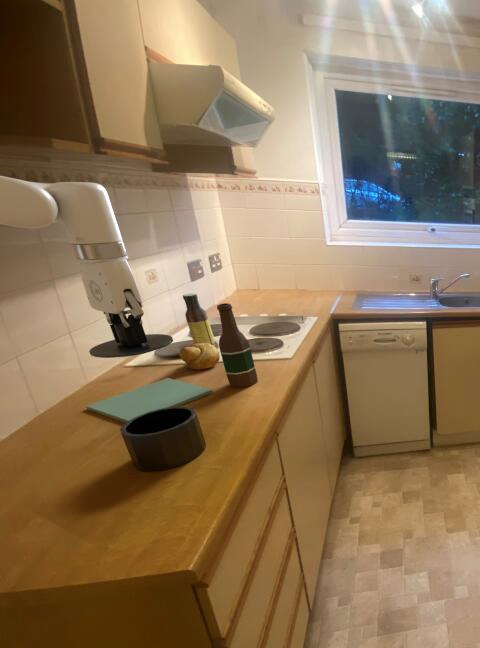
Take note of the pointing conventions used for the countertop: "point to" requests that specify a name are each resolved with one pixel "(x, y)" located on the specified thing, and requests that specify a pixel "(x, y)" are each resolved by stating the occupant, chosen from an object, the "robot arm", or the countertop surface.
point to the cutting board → (149, 399)
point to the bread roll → (200, 356)
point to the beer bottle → (235, 351)
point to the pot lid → (123, 349)
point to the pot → (163, 438)
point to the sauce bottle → (198, 321)
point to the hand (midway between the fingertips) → (131, 341)
